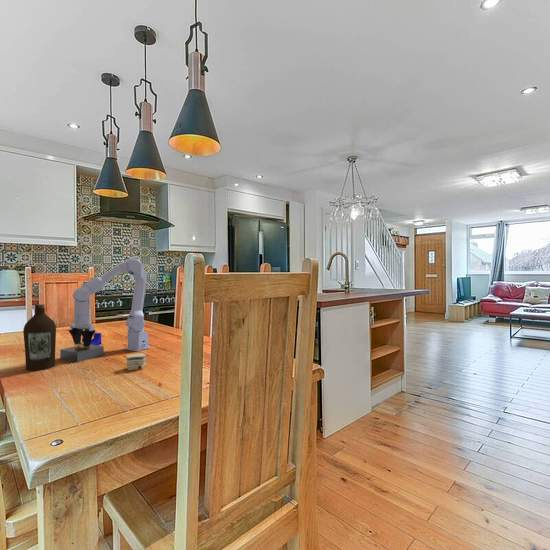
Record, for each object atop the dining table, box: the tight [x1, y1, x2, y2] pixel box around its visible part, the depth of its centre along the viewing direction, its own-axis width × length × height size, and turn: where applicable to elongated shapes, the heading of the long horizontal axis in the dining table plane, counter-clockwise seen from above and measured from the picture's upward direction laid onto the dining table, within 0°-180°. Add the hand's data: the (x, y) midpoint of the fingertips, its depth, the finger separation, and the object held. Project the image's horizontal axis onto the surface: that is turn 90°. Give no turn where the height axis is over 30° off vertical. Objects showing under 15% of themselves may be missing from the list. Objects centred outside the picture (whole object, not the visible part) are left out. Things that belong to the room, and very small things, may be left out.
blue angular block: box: [81, 332, 102, 346], centre depth 164 cm, size 12×4×6 cm, turn 0°
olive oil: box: [22, 303, 57, 372], centre depth 129 cm, size 11×11×25 cm
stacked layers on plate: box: [125, 352, 147, 371], centre depth 128 cm, size 10×9×6 cm
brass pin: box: [74, 341, 90, 350], centre depth 145 cm, size 6×6×6 cm
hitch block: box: [59, 344, 105, 363], centre depth 145 cm, size 12×12×4 cm
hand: (82, 345), depth 145 cm, fingers open, 6 cm apart
